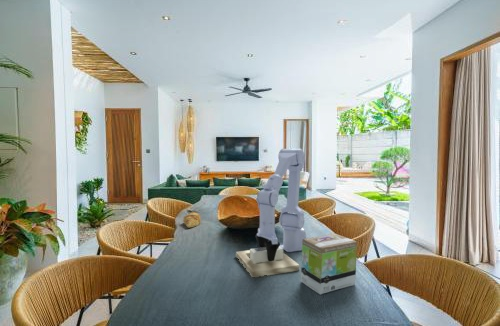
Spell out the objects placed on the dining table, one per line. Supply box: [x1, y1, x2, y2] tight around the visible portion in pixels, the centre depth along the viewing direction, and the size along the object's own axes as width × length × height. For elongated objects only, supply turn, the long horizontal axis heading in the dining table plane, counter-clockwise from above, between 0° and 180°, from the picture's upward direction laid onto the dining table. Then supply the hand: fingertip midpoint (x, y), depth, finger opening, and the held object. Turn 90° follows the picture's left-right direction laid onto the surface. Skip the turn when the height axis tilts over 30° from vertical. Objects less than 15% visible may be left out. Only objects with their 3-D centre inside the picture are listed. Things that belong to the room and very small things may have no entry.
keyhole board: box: [235, 249, 300, 278], centre depth 109 cm, size 18×20×2 cm
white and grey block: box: [249, 246, 284, 264], centre depth 107 cm, size 12×4×6 cm, turn 110°
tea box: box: [300, 233, 358, 296], centre depth 92 cm, size 15×10×15 cm, turn 118°
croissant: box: [182, 211, 201, 229], centre depth 165 cm, size 21×10×8 cm, turn 3°
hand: (267, 256), depth 107 cm, fingers open, 7 cm apart
